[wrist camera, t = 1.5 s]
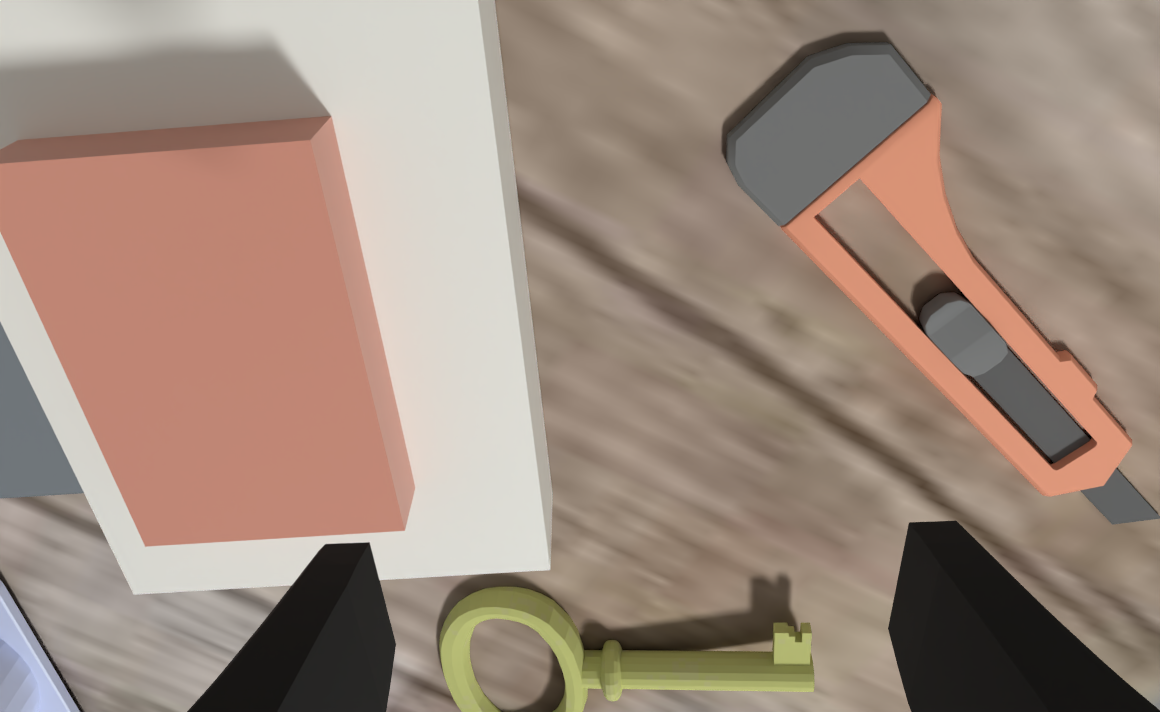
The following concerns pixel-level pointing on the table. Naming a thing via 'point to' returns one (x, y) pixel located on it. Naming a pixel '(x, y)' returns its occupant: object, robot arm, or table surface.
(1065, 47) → the table surface
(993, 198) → the table surface
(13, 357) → the mat
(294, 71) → the white rectangular block
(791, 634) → the key
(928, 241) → the utility knife
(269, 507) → the pink rubber eraser
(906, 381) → the table surface
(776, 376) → the table surface
